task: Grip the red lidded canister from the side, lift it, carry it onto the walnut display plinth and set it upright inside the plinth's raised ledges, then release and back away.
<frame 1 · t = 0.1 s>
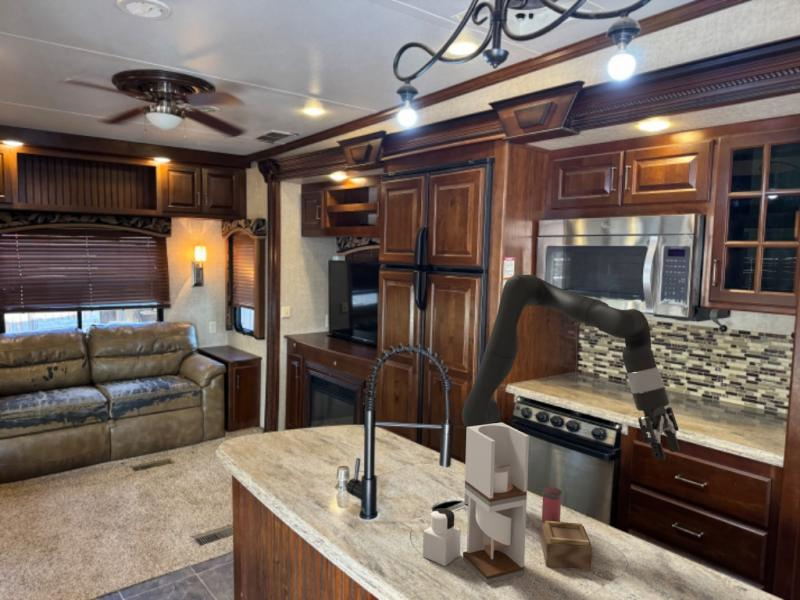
hand: (668, 455, 132), 31 cm above the countertop, tool tilted 20°, fingers open, 8 cm apart
red lidded canister: (550, 531, 158), on the countertop
display plinth: (565, 556, 145), on the countertop
medicine bottle: (441, 556, 144), on the countertop
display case: (492, 567, 140), on the countertop
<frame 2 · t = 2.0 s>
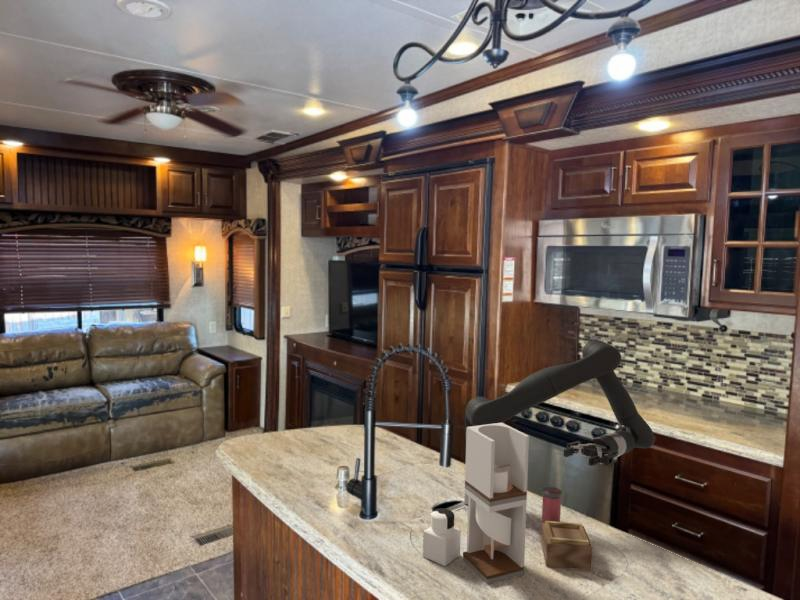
hand: (577, 457, 163), 19 cm above the countertop, tool horizontal, fingers open, 8 cm apart
nothing on the countertop moved.
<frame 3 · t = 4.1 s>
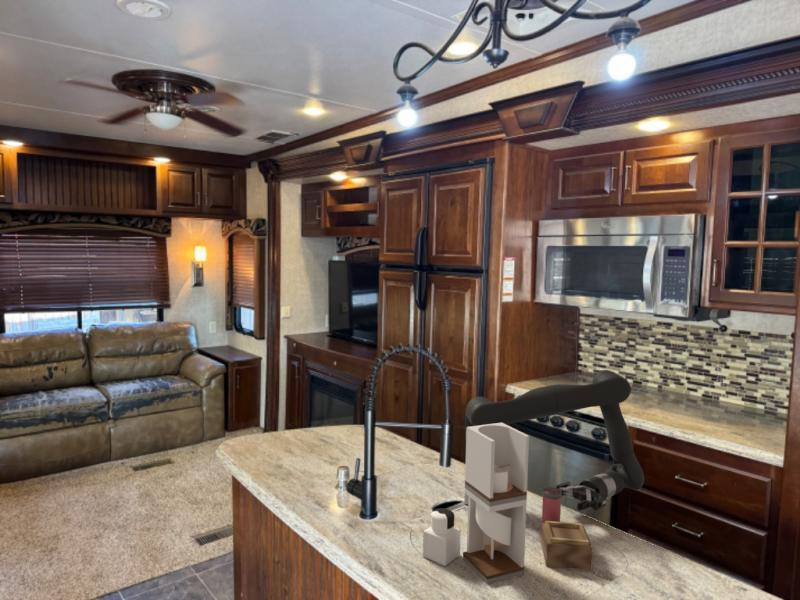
hand: (565, 501, 162), 7 cm above the countertop, tool horizontal, fingers open, 8 cm apart
nothing on the countertop moved.
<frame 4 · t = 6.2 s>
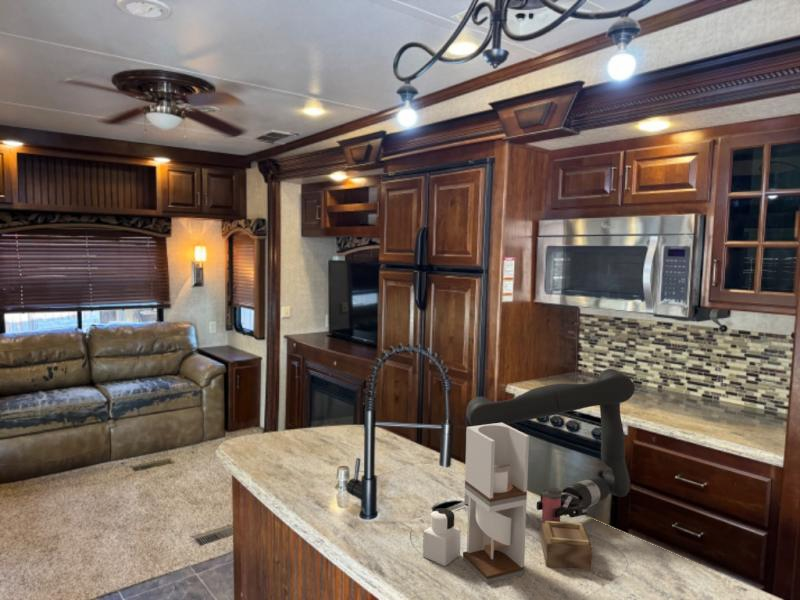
hand: (545, 510, 156), 7 cm above the countertop, tool horizontal, fingers closed on red lidded canister, 5 cm apart
red lidded canister: (550, 531, 158), on the countertop, touching gripper
everything else where it was.
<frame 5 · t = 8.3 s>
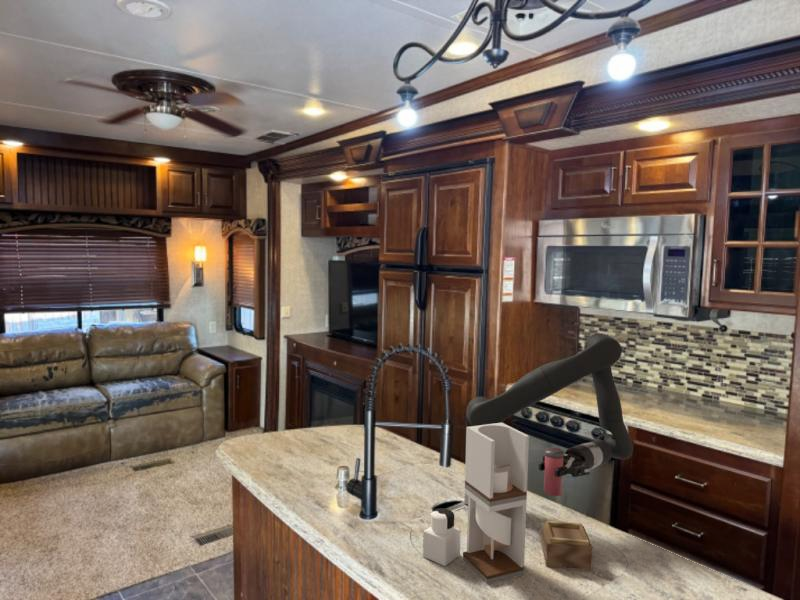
hand: (548, 470, 154), 19 cm above the countertop, tool horizontal, fingers closed on red lidded canister, 5 cm apart
red lidded canister: (552, 492, 157), point 12 cm above the countertop, touching gripper
everything else where it was.
when the fingers open (14 cm above the countertop, at t = 10.5 s): red lidded canister drops 1 cm, resting on display plinth.
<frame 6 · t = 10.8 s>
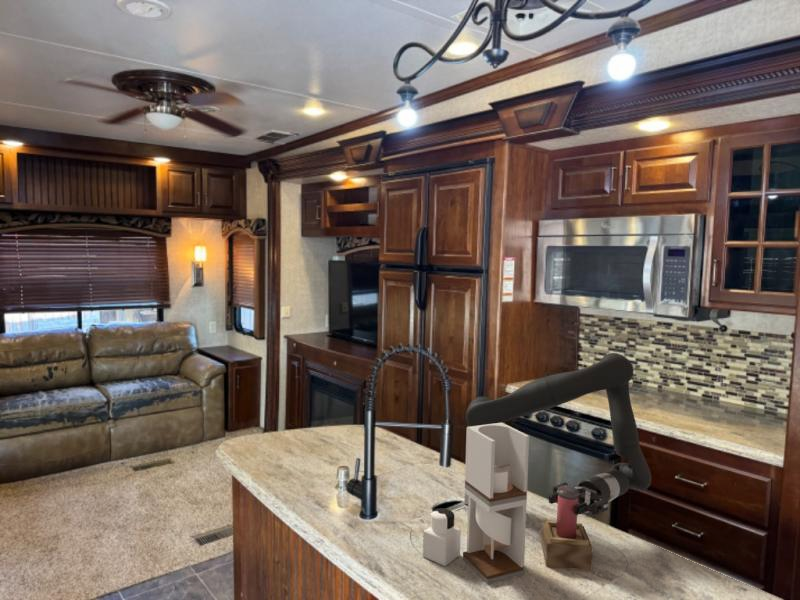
hand: (562, 505, 143), 15 cm above the countertop, tool horizontal, fingers open, 7 cm apart
red lidded canister: (566, 534, 145), point 6 cm above the countertop, touching display plinth
everything else where it was.
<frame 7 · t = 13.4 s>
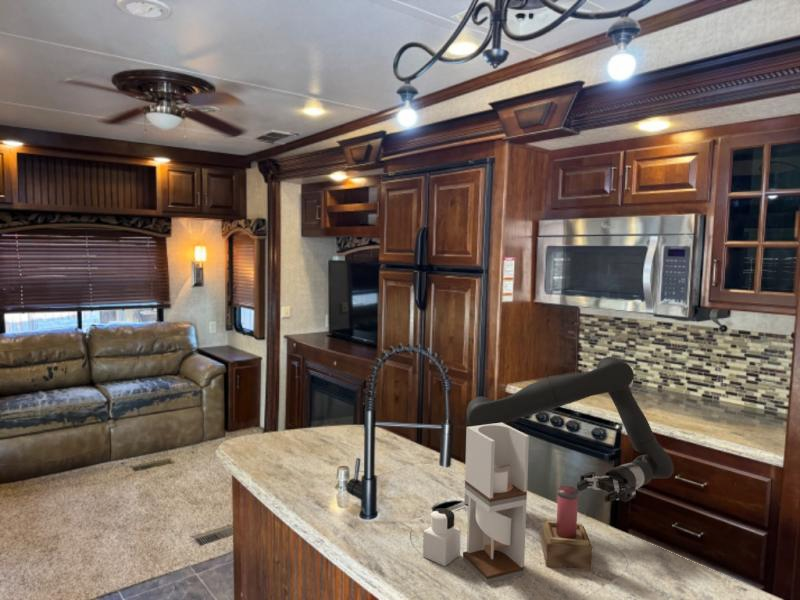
hand: (592, 492, 150), 15 cm above the countertop, tool horizontal, fingers open, 8 cm apart
nothing on the countertop moved.
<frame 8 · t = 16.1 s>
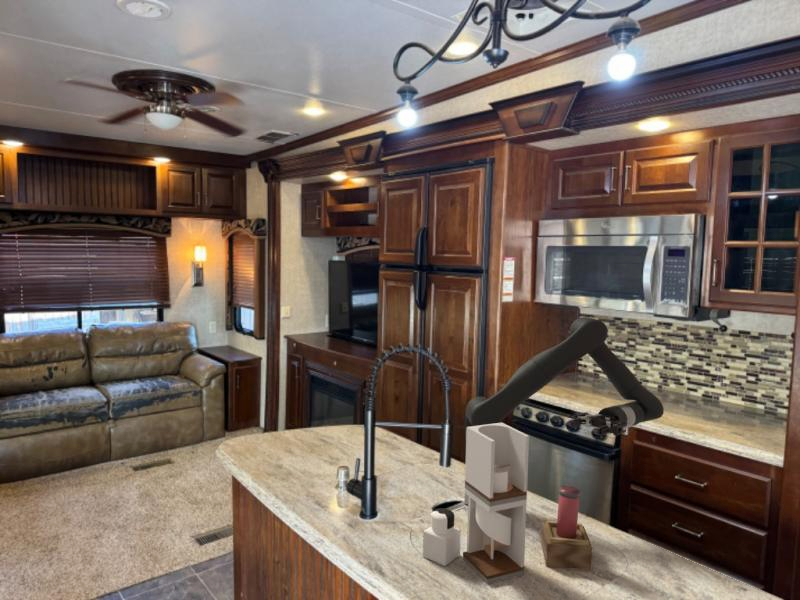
hand: (584, 427, 157), 30 cm above the countertop, tool horizontal, fingers open, 8 cm apart
nothing on the countertop moved.
at the end: red lidded canister 0.1 cm off-centre on the display plinth, point 6.1 cm above the display plinth's base; red lidded canister tilted 2°; the gripper is holding nothing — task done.
